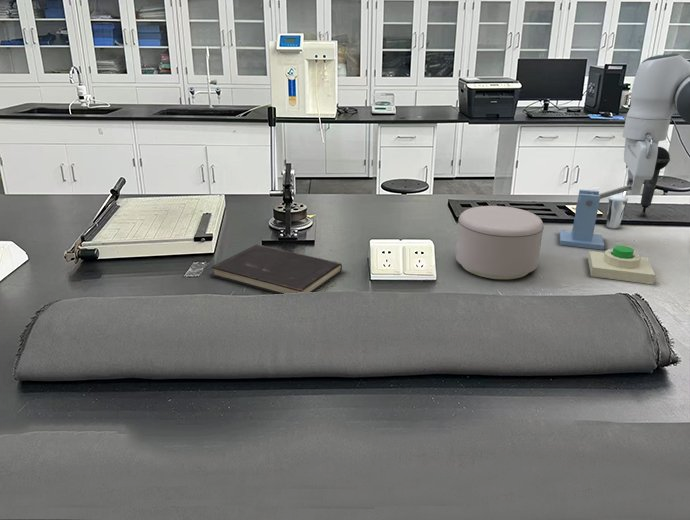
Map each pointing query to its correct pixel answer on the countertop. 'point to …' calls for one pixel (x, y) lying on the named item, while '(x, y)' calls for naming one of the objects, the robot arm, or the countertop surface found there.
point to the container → (498, 241)
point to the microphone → (654, 179)
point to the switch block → (620, 267)
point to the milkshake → (616, 210)
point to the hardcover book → (277, 270)
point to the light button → (623, 252)
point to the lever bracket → (584, 223)
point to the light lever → (615, 191)
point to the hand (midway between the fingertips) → (632, 189)
